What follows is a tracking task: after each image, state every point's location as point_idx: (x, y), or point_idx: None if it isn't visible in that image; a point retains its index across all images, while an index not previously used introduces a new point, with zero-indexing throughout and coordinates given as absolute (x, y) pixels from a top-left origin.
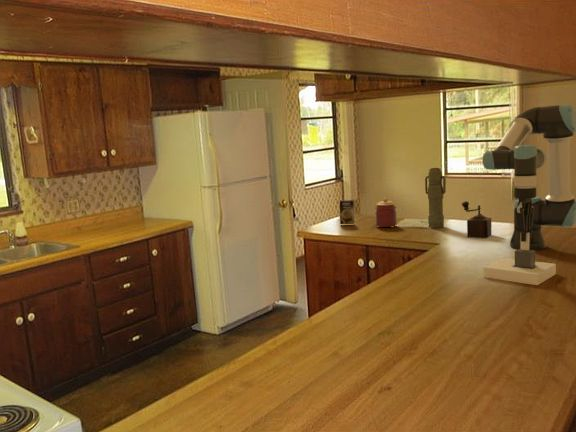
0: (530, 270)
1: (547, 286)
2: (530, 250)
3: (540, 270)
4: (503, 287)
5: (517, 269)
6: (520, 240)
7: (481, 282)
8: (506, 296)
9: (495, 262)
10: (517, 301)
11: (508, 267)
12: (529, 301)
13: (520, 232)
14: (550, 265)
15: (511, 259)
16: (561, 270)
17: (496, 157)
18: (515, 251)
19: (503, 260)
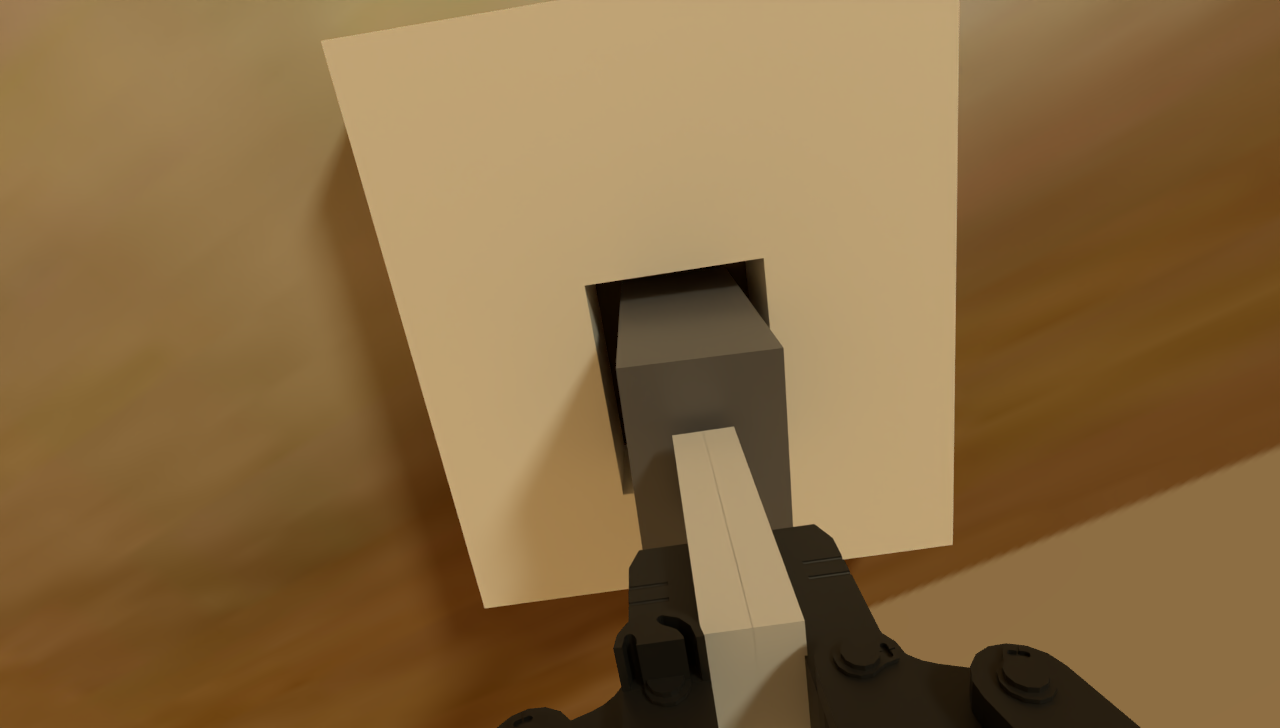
0: (565, 506)
1: (529, 603)
2: (773, 510)
3: (626, 564)
4: (246, 403)
5: (512, 402)
6: (686, 514)
7: (206, 166)
8: (81, 540)
9: (636, 14)
10: (63, 639)
11: (520, 289)
12: (132, 683)
13: (641, 674)
14: (863, 539)
15: (914, 83)
16: (1064, 463)
17: None
18: (617, 377)
19: (804, 31)
